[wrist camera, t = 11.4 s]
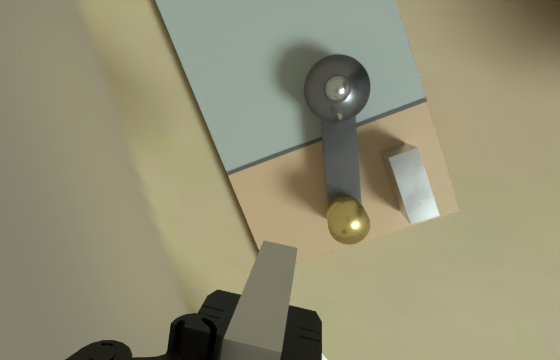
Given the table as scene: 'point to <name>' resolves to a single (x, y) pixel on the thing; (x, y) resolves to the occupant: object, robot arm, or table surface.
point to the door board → (303, 108)
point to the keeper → (409, 183)
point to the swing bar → (340, 140)
